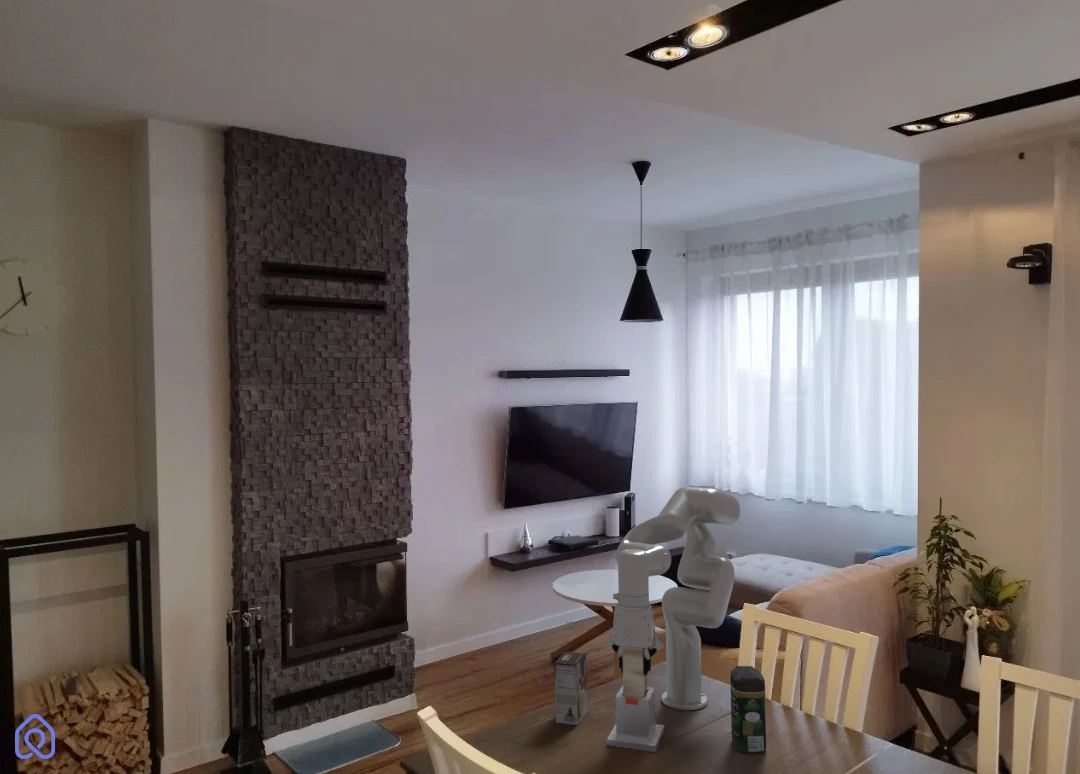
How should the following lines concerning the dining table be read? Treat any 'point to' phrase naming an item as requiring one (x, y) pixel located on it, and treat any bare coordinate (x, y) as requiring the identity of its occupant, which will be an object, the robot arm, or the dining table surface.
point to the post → (634, 673)
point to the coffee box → (571, 688)
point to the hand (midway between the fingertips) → (635, 671)
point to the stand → (636, 723)
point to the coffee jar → (748, 710)
